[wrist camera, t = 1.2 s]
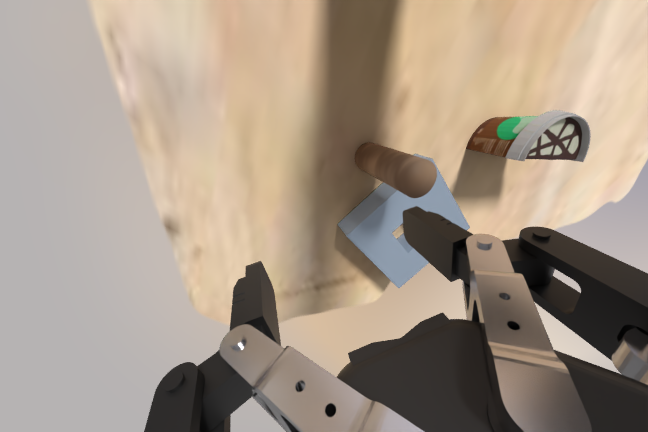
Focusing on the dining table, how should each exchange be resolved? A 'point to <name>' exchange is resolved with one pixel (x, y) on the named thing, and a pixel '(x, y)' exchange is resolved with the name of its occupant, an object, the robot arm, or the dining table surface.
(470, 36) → the dining table surface
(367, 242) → the socket block
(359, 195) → the dining table surface
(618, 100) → the dining table surface
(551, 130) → the food container
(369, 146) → the walnut peg
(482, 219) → the dining table surface
